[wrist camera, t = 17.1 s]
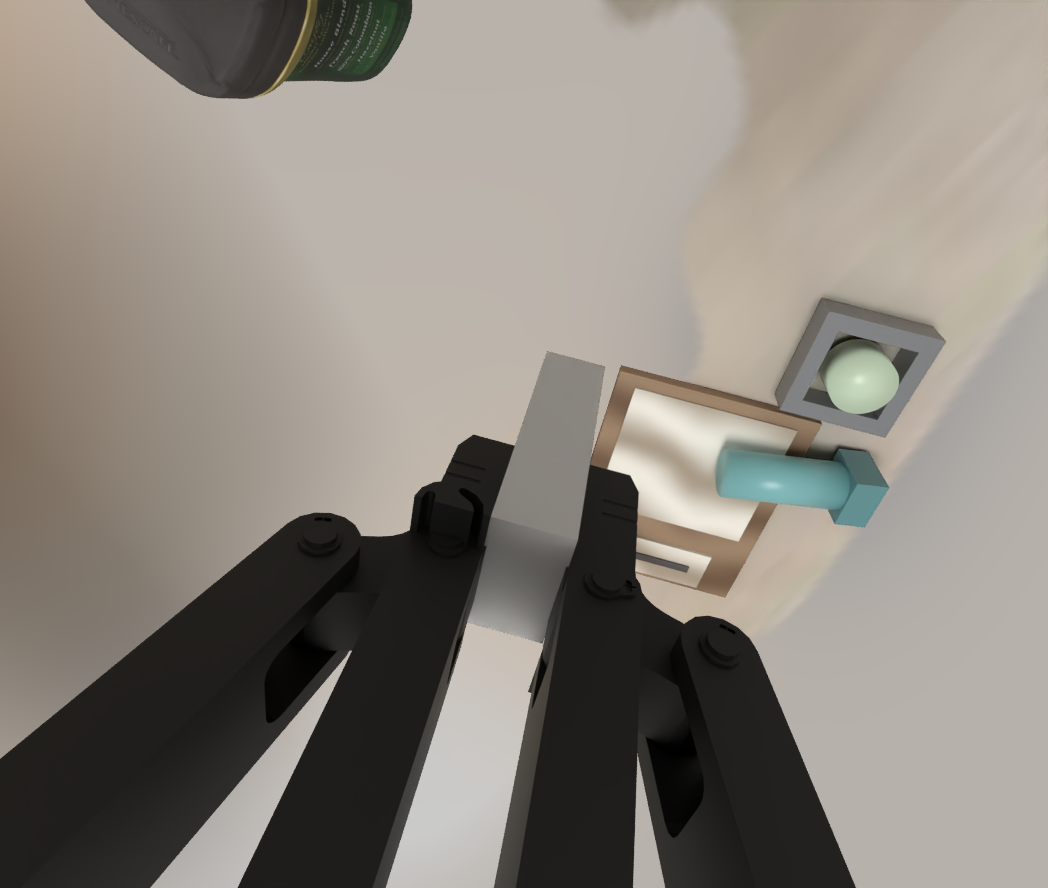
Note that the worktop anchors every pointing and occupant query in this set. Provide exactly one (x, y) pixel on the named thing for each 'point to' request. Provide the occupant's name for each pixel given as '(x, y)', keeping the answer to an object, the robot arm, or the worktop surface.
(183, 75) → the coffee jar
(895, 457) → the worktop surface
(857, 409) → the button
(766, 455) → the teal square-headed peg
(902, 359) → the button housing
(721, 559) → the clipboard
